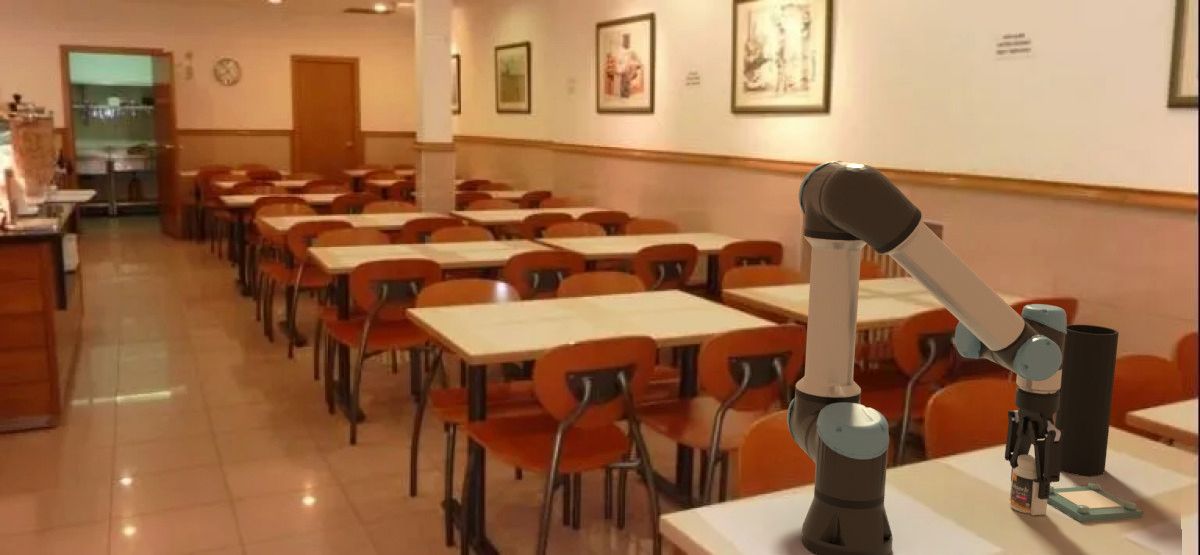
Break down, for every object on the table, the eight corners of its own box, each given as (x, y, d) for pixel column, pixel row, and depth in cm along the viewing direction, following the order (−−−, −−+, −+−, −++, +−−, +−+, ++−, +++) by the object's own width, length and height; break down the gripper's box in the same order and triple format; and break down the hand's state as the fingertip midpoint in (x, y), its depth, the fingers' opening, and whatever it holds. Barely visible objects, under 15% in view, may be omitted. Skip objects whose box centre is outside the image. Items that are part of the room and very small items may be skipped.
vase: (1113, 476, 204) (1128, 335, 199) (1065, 475, 204) (1078, 334, 199) (1089, 459, 214) (1102, 324, 209) (1042, 459, 214) (1055, 324, 209)
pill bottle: (1003, 505, 187) (1007, 455, 185) (1025, 501, 189) (1029, 451, 188) (1027, 516, 182) (1032, 465, 180) (1049, 512, 184) (1054, 461, 183)
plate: (1080, 521, 180) (1081, 510, 180) (1035, 495, 193) (1036, 484, 192) (1142, 517, 183) (1143, 506, 182) (1094, 491, 195) (1095, 481, 195)
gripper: (1090, 401, 174) (1078, 525, 177) (1025, 374, 192) (1015, 488, 195) (1052, 403, 172) (1041, 528, 176) (990, 376, 190) (981, 490, 194)
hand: (1027, 507), depth 186 cm, fingers closed on pill bottle, 6 cm apart
